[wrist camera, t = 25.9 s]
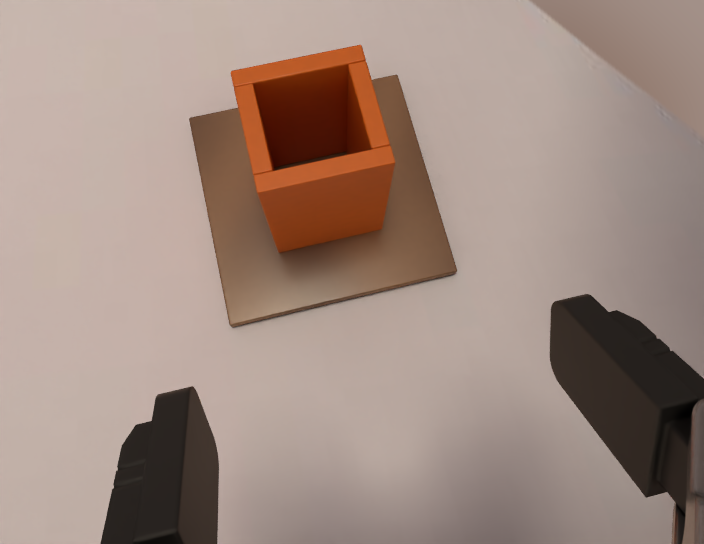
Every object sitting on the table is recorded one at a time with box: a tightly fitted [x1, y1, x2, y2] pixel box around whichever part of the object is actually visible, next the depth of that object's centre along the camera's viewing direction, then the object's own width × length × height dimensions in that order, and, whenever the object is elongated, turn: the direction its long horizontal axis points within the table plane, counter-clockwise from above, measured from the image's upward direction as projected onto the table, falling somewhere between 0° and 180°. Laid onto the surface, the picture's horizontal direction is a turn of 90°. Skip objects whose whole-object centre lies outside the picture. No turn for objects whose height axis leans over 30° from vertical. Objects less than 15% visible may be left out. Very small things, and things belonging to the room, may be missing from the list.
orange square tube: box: [231, 45, 395, 253], centre depth 27 cm, size 6×6×8 cm
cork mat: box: [189, 75, 457, 327], centre depth 32 cm, size 12×12×1 cm
